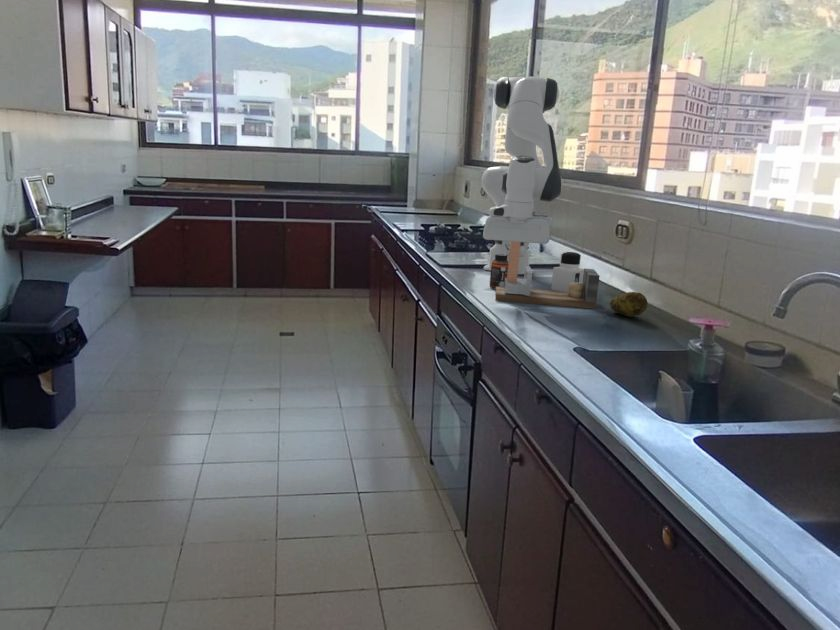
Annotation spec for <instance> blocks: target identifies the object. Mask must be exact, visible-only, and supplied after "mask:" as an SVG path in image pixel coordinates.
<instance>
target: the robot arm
mask: <svg viewBox="0 0 840 630" xmlns="http://www.w3.org/2000/svg"><path fill="white" fill-rule="evenodd" d="M492 95H493V101H494V102H495V103H494V104H495V105H496V106H497V107H498V108H501V109H505V110H506V109H508V110H507V111H508V112H507V113H508V115H507V120H506V128H505V140H504V149H505V151H506V153H507V154H508V155H509V156H511V158H510V161H509V164H508V166H506V165H504V166H503V165H499V166H491V167H488V168H486V169H485V170H484V172H483V174H482V176H481V187H482V190H483V191H484V192H485V193H486V195H488V196H489V197H490V198H491V200H492V201H493V203H494V206H492V207H490V208H489V210H488V214H489V215H488V216H487V217H486V220H485V223H484V227H483V231H482V232H483V234H482V238H483V239H484V240H486V241H487V240H488V241H494V242H495V244H494V245H493V246H492V247H491V248H490V250H489V253H488V257H489V259H488V264H486V265H484V266H483V270H485V271H490V272H491V264H492V261H493V260H495V254H505V256H507V261H508V262H509V253H510V241H514V242H521V244H520V254H519V265H518V275H524V272H525V266H530V255H531V254H530V253H531V251H530V250H529V249H528V248H529V245H530V244H541V245H542V244H543V245H546V244H548V243H549V242H550V235H551V234H550V228H551V227H552V225H553V217H552V215H550V214H549V213H548V212H536V211H534V206H535V200H538V201H540V202H541V201H542V202H547V203H551V202H553V201H554V200H556V199H557V198H559V197H560V195H561V193H562V190H563V179H562V173H561V170H560V166H559V161H558V159H559V158H558V152H557V145H556V140H555V134H554V130H553V126H552V125H551V124H549V123H548V122H547V121H546V118H544V113H545V112H547V111H550V110H552V109H553V108H555V107H556V104H557V102H558V100H559V96H560V89H559V86H558V82H557V81H556V80H555V79H553V78H551V77H550V78H549V77H546V78H544V77H539V76H530V75H527V76H512V77H511V76H510V77H509V76H501V77H499V78H498V79H497V81H496V83H495V85H494V87H493V91H492ZM537 147H538V148H540V150H541V151H542V155H543V163H544V164H543V165H544V167H543V165H542V163H541V161H540V160H539V158H538V153H537ZM531 271H532V274H534V270H533V269H532V268H531Z"/></svg>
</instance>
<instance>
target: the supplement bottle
mask: <svg viewBox="0 0 840 630" xmlns="http://www.w3.org/2000/svg"><path fill="white" fill-rule="evenodd" d="M507 273H508V261H507V256H505V254H495V260H493V261H492V264H491V271H490V275H489V276H490V278H489V287H490V288H491V289H492V290H493V289H494V290H496V287H504V283H505V278H507Z"/></svg>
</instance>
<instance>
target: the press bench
mask: <svg viewBox="0 0 840 630" xmlns="http://www.w3.org/2000/svg"><path fill="white" fill-rule="evenodd" d="M583 269H584V274H583V282H582V284H584V290H583V298H572V297H569V296H568V293H569V292H560V291H555V290H545V289H544V290H542V289H532V288H531V291H530V296H526V295H522V294H509V293H505V291H504V287H496V289H495V292H494V293H495V301H496V300H498V302H500V301H501V302H510V303H511V302H512V303H523V304H532V305H533V304H534V305H544V306H545V305H546V306H547V305H548V306H558V307H571V308H585V309H595V310H596V309H597V308H596V306H597V301H598V291H599V285H600V274H598V273H597V271H596V270H595V269H593V268H583Z"/></svg>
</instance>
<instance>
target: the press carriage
mask: <svg viewBox="0 0 840 630" xmlns="http://www.w3.org/2000/svg"><path fill="white" fill-rule="evenodd" d="M520 244H521V242H514V241H510V253H509V262H508V273H507V278H505V283H504V291H505V293H509V294H522V295H526V296H530V291H531V289H532V280H533V279H532V278H533V273H532V271H531V269H532V268H531V266H530V265H529V266H525V272H524V274H523V278H518V275H519V274H518V265H519V254H520Z"/></svg>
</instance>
